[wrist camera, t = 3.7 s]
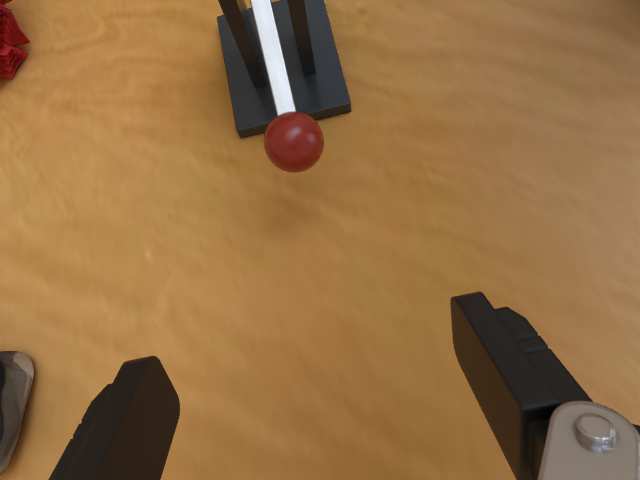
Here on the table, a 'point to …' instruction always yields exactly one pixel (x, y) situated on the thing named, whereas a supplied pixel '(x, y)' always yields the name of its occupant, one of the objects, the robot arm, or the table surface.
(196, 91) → the table surface
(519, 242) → the table surface
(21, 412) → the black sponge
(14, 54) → the bouquet
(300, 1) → the bracket
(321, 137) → the lever
